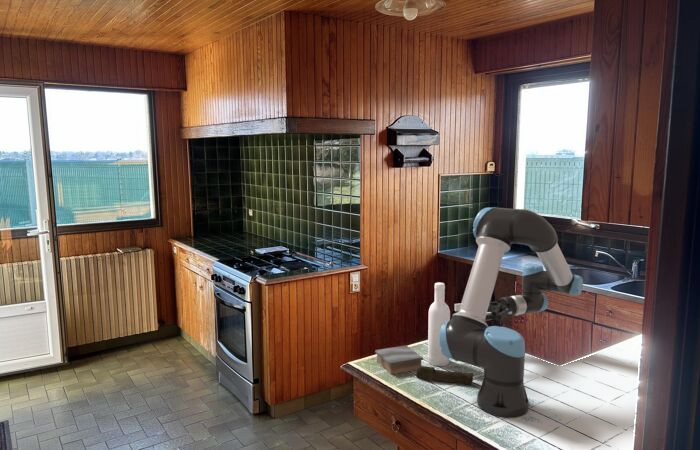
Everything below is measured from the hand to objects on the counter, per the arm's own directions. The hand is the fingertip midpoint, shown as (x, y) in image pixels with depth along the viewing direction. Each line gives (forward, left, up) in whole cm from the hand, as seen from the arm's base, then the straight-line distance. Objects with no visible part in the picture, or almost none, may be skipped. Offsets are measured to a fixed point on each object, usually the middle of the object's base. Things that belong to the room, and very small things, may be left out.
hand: (465, 312), depth 190 cm
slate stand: (+3, +26, -18) cm, 32 cm away
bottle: (0, +11, -18) cm, 21 cm away
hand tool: (-15, +18, -18) cm, 30 cm away
